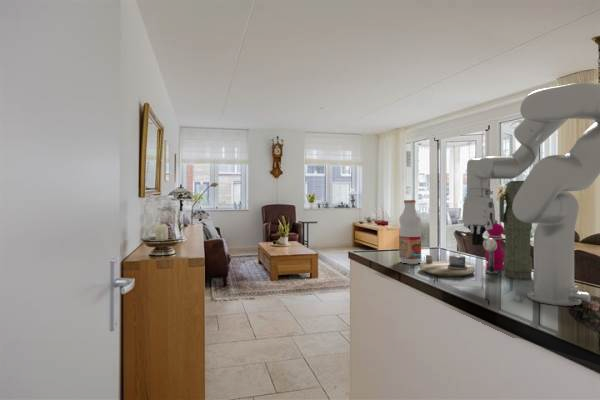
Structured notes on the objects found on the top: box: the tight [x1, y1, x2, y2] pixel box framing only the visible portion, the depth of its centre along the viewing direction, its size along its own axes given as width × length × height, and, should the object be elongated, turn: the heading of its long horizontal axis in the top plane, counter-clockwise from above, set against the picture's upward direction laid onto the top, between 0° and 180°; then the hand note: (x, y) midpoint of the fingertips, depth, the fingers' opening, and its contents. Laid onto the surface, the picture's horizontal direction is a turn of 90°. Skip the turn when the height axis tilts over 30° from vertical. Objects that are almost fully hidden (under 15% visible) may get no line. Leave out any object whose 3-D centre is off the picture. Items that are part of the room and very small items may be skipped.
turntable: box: [418, 254, 476, 275], centre depth 143 cm, size 20×20×4 cm
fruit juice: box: [398, 199, 422, 265], centre depth 164 cm, size 9×9×28 cm
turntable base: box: [424, 271, 470, 278], centre depth 143 cm, size 16×16×1 cm
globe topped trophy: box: [482, 238, 498, 275], centre depth 140 cm, size 5×4×14 cm
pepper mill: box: [484, 218, 505, 271], centre depth 150 cm, size 7×7×20 cm
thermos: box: [499, 180, 534, 281], centre depth 133 cm, size 9×12×35 cm
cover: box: [448, 254, 467, 270], centre depth 139 cm, size 7×7×4 cm
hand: (477, 244), depth 131 cm, fingers closed
